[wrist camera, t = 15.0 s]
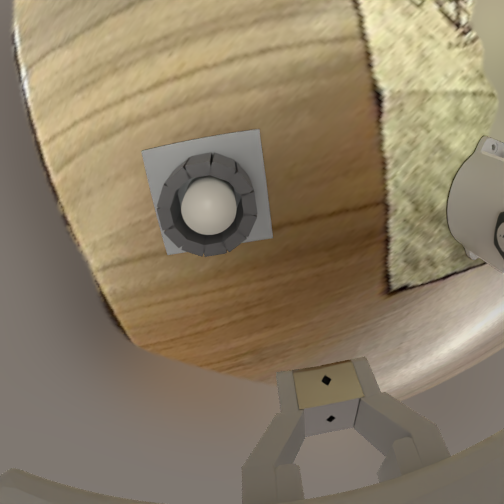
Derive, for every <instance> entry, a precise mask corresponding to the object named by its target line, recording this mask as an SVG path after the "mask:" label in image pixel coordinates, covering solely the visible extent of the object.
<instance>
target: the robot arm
mask: <svg viewBox="0 0 504 504" xmlns="http://www.w3.org/2000/svg"><path fill="white" fill-rule="evenodd" d="M447 216H448V224H449V228H450V231H451V233H452V235H453V236H454V238H455V239H456V240H457V241H458V242H459V243H461V244H462V245H463V246H464V248H465V251H466V254H467V256H468V257H469V258H471V259H472V260H475V259H477V258H481V259H482V260H484V261H485V262H486V263H488V264H489V265H491V266H492V267H494V268H495V269H497V270H498V271H500V272H502V273H504V143H503V142H501V141H498V140H496V139H493V138H491V137H488V136H483V137H482V138H481V140H480V142H479V143H478V146H477V148H476V150H475V152H474V153H473V155H472V156H471V157H470V158H469V159H468V160H467V161H466V162H465V163H464V164H463V165H462V167H461V168H460V170H459V171H458V173H457V175H456V177H455V179H454V181H453V184H452V187H451V190H450V194H449V199H448V207H447ZM276 378H277V386H278V393H279V402H280V409H281V413H277V414H276V415H275V417H274V418H273V420H272V422H271V423H270V425H269V426H268V428H267V430H266V431H265V433H264V434H263V436H262V437H261V439H260V440H259V442H258V444H257V445H256V447H255V448H254V450H253V451H252V453H251V454H250V456H249V457H248V459H247V460H246V462H245V463H244V465H243V466H242V504H504V429H502V430H500V431H499V432H497V433H495V434H494V435H492V436H490V437H488V438H486V439H484V440H483V441H481V442H479V443H477V444H475V445H473V446H471V447H469V448H467V449H465V450H463V451H461V452H459V453H457V454H455V455H453V456H450V453H449V451H448V449H447V447H446V444H445V442H444V440H443V437H442V435H441V433H440V430H439V428H438V426H437V425H436V424H435V423H433V422H431V421H430V420H428V419H427V418H425V417H423V416H422V415H420V414H419V413H417V412H416V411H414V410H412V409H410V408H409V407H407V406H406V405H404V404H403V403H401V402H400V401H398V400H397V399H395V398H394V397H392V396H391V395H389V394H388V393H386V392H383V393H381V391H380V389H379V386H378V384H377V382H376V379H375V377H374V374H373V372H372V370H371V367H370V365H369V363H368V360H367V358H366V357H360V358H356V359H351V360H345V361H340V362H336V363H331V364H326V365H321V366H317V367H310V368H303V369H296V370H289V371H281V372H276ZM353 427H354V429H355V430H356V431H357V432H358V433H359V434H361V435H362V436H363V437H364V438H365V439H366V440H367V441H368V442H370V443H371V444H372V445H373V446H374V447H375V448H376V449H378V450H379V451H380V452H381V453H382V454H383V455H384V456H386V458H385V460H384V461H383V463H382V465H381V467H380V468H379V470H378V472H377V475H378V479H379V483H377V484H373V485H370V486H366V487H363V488H359V489H355V490H350V491H346V492H342V493H337V494H333V495H328V496H322V497H316V498H311V499H304V493H303V486H302V480H301V473H300V467H299V466H298V465H296V464H294V463H293V462H294V460H295V458H296V456H297V454H298V452H299V450H300V447H301V445H302V443H303V441H304V439H305V437H307V436H312V435H317V434H322V433H327V432H332V431H337V430H342V429H348V428H353ZM0 504H163V503H154V502H146V501H138V500H132V499H125V498H120V497H114V496H109V495H104V494H99V493H95V492H91V491H86V490H82V489H78V488H75V487H71V486H68V485H64V484H61V483H57V482H54V481H51V480H48V479H45V478H42V477H39V476H36V475H33V474H30V473H28V472H25V471H23V470H20V469H16V468H11V469H9V470H7V471H6V472H4V473H3V474H2V475H1V476H0Z"/></svg>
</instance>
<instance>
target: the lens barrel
mask: <svg viewBox="0 0 504 504" xmlns="http://www.w3.org/2000/svg"><path fill="white" fill-rule="evenodd" d="M142 156H143V161H144V165H145V170H146V174H147V178H148V182H149V187H150V191H151V195H152V199H153V203H154V207H155V211H156V215H157V218H158V222H159V226H160V230H161V233H162V237H163V241H164V244H165V248H166V251H167V255H171V254H177V253H183V252H190V253H193V254H196V255H199V256H203V253H204V255H205V257H206V256H213V255H219V254H225V253H227V250H228V251H229V252H230V251H231V250H233V249H234V248H236V247H237V246H238V245H240V244H241V243H244V242H251V241H257V240H263V239H269V238H273V234H272V225H271V217H270V209H269V201H268V193H267V185H266V177H265V169H264V161H263V154H262V146H261V139H260V131H259V129H254V130H247V131H240V132H233V133H227V134H221V135H215V136H209V137H204V138H198V139H193V140H188V141H183V142H178V143H173V144H169V145H164V146H160V147H155V148H151V149H147V150H143V151H142ZM208 175H211V176H214V177H217V178H220V179H222V180H225V181H228V182H229V183H230V184H231V185H232V186H233V189H234V194H235V200H236V206H237V211H236V216H235V219H234V221H233V223H232V224H231V225H230V226H229V227H228V228H227V229H226V230H224V231H223V232H221V233H218V234H214V235H204V234H200V233H197V232H195V231H194V230H192V229H191V228H190V227H189V226H188V225H187V224H186V223H185V221H184V219H183V217H182V213H181V205H182V201H183V198H184V195H185V193H186V190H187V187H188V185H189V183H190V182H191V180H192V179H193V178H196V177H202V176H208Z"/></svg>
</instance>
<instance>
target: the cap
mask: <svg viewBox="0 0 504 504" xmlns="http://www.w3.org/2000/svg"><path fill="white" fill-rule="evenodd" d="M236 211H237V206H236V200H235V194H234V189H233V186H232V185H231V184H230V183H229V182H228V181H225V180H222V179H220V178H217V177H214V176H211V175H208V176H202V177H196V178H193V179H192V180H191V182H190V183H189V185H188V187H187V190H186V193H185V195H184V198H183V201H182V205H181V213H182V217H183V219H184V221H185V223H186V224H187V225H188V226H189V227H190V228H191V229H192V230H194V231H195V232H197V233H200V234H204V235H214V234H218V233H221V232H223V231H224V230H226V229H227V228H228V227H229V226H230V225H231V224H232V223H233V221H234V219H235V216H236Z"/></svg>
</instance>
